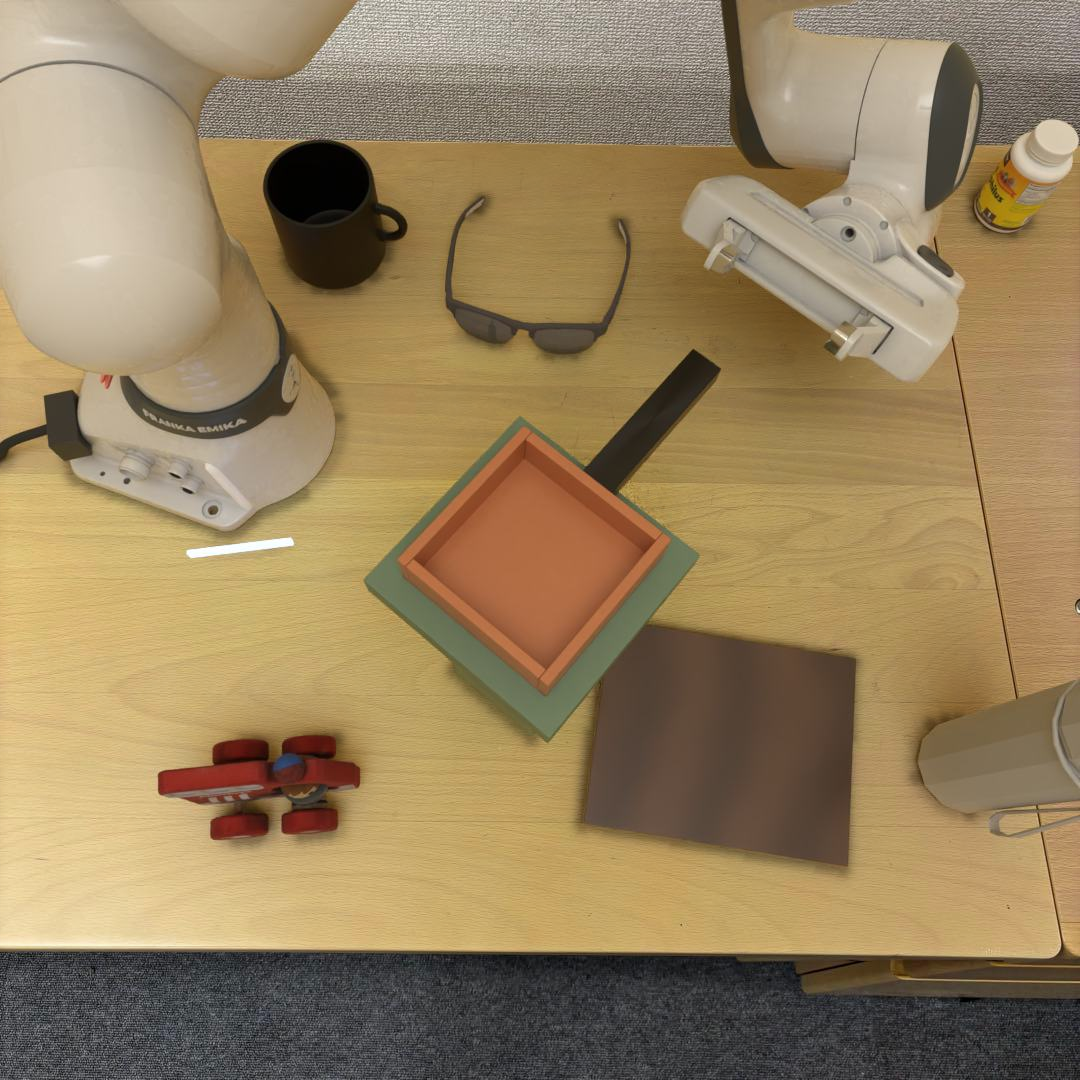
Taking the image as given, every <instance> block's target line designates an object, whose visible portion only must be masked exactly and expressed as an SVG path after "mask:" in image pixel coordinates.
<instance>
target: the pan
mask: <svg viewBox="0 0 1080 1080" xmlns="http://www.w3.org/2000/svg"><path fill="white" fill-rule="evenodd" d="M721 371H722V368H721V367H719V366H718V365H717V364H716V363H714V362H713V361H711V360H710V359H708V358H707V357H706V356H704V355H703V354H702V353H700V352H699V351H698V350H696V349H695V348H692V349H691V350H690V351H689V352H688V354H687V355H685V357H684V358H683V359H682V360H681V361H680V363H678V365H677V366H676V367H675V368H674V369H673V370H672V371H671V372H670V373H669V374H668V375H667V376H666V378H665V379H664V380H663V381H662V382H661V384H659V385H658V387H657V388H656V389H655V390H654V391H653V392H652V393H651V394H650V396H648V398H647V399H646V400H645V401H644V402H643V403H642V404H641V405H640V407H638V409H637V410H636V411H635V412H634V413H633V414H632V415H631V416H630V418H628V420H627V421H626V422H625V423H624V424H623V425H622V427H620V428H619V430H618V431H617V432H616V433H615V434H614V435H613V436H612V438H610V440H609V441H608V442H607V443H606V444H605V445H604V446H603V447H602V448H601V449H600V451H598V453H597V454H596V455H595V456H594V457H593V459H592V460H590V461H589V463H588V464H587V465H585V466H586V467H585V469H584V470H581V469H580V468H579V467H577V466H576V465H575V464H573V463H572V462H571V461H570V460H568V459H567V458H566V457H564V456H563V455H562V454H561V453H559V452H558V451H557V450H555V449H554V448H553V447H551V446H550V445H549V444H548V443H546V442H545V441H544V440H542V439H541V438H540V437H538V436H537V435H536V434H535V433H533V432H532V431H531V430H529V429H528V428H527V427H525V426H523V427H522V428H521V429H520V430H519V431H518V432H517V433H516V434H515V435H514V436H513V437H512V438H511V439H510V441H509V442H508V443H507V444H506V445H505V446H504V447H503V448H502V449H501V450H500V451H499V452H498V453H497V454H496V455H495V456H494V457H493V458H492V459H491V461H490V462H489V463H488V464H487V465H486V466H485V467H484V468H483V469H482V470H481V471H480V472H479V473H478V474H477V475H476V476H475V477H474V478H473V480H472V481H471V482H470V483H469V484H468V485H467V486H466V487H465V488H464V489H463V490H462V491H461V492H460V493H459V494H458V495H457V496H456V497H455V498H454V500H453V501H452V502H451V503H450V504H449V505H448V506H447V507H446V508H445V509H444V510H443V511H442V512H441V513H440V514H439V515H438V516H437V517H436V519H435V520H434V521H433V522H432V523H431V524H430V525H429V526H428V527H427V528H426V529H425V530H424V531H423V532H422V533H421V534H420V535H419V536H418V537H417V539H416V540H415V541H414V542H413V543H412V544H411V545H410V546H409V547H408V548H407V549H406V550H405V551H404V552H403V553H402V554H401V555H400V556H399V557H398V559H397V561H398V564H399V567H400V569H401V572H402V575H403V577H404V578H405V579H406V580H407V581H408V582H410V583H411V584H412V585H413V586H414V587H415V588H417V589H418V590H419V591H420V592H421V593H423V594H424V595H425V596H426V597H427V598H429V599H430V600H431V601H432V602H433V603H434V604H436V605H437V606H438V607H439V608H440V609H442V610H443V611H444V612H445V613H446V614H448V615H449V616H450V617H451V618H452V619H454V620H455V621H456V622H457V623H458V624H459V625H461V626H462V627H463V628H464V629H465V630H467V631H468V632H469V633H470V634H471V635H473V636H474V637H475V638H476V639H477V640H479V641H480V642H481V643H482V644H483V645H484V646H486V647H487V648H488V649H489V650H490V651H492V652H493V653H494V654H495V655H496V656H498V657H499V658H500V659H501V660H502V661H503V662H505V663H506V664H507V665H508V666H509V667H511V668H512V669H513V670H514V671H515V672H517V673H518V674H519V675H520V676H521V677H523V678H524V679H525V680H526V681H527V682H528V683H530V684H531V685H532V686H533V687H534V688H536V689H537V690H538V691H539V692H540V693H542V694H543V695H544V696H547V695H548V694H549V692H550V691H551V690H552V689H553V688H554V687H555V685H556V684H557V683H558V682H559V681H560V679H561V678H562V677H563V676H564V675H565V673H566V672H567V671H568V670H569V669H570V667H571V666H572V665H573V664H574V663H575V661H576V660H577V659H578V658H579V657H580V655H581V654H582V653H583V652H584V651H585V650H586V648H587V647H588V646H589V645H590V644H591V642H592V641H593V640H594V639H595V638H596V636H597V635H598V634H599V633H600V632H601V630H602V629H603V628H604V627H605V626H606V624H607V623H608V622H609V621H610V620H611V618H612V617H613V616H614V615H615V614H616V612H617V611H618V610H619V609H620V608H621V607H622V605H623V604H624V603H625V602H626V601H627V599H628V598H629V597H630V596H631V595H632V593H633V592H634V591H635V590H636V589H637V587H638V586H639V585H640V584H641V583H642V581H643V580H644V579H645V578H646V577H647V575H648V574H649V573H650V572H651V571H652V569H653V568H654V567H655V566H656V565H657V564H658V562H659V561H660V560H661V559H662V557H663V555H664V553H665V551H666V549H667V547H668V545H669V543H670V541H671V538H669V537H668V536H667V535H665V534H664V533H662V531H660V530H659V529H658V528H656V527H655V526H654V525H652V524H651V523H650V522H649V521H647V520H646V519H645V518H643V517H642V516H641V515H640V514H638V513H637V512H636V511H634V510H633V509H632V508H630V507H629V506H628V505H627V504H625V503H624V502H623V501H621V500H620V499H619V498H618V497H616V496H615V495H616V494H617V493H618V492H620V491H621V490H622V489H623V488H624V487H625V486H626V484H627V483H628V482H629V481H630V480H631V478H633V476H634V475H635V474H636V473H637V472H638V470H639V469H641V467H642V466H644V464H645V463H646V462H647V460H648V459H649V458H650V457H651V456H652V455H653V454H654V453H655V451H656V450H657V449H658V448H659V447H660V445H662V443H663V442H664V441H665V440H666V439H667V438H668V437H669V435H670V434H671V433H673V431H674V429H676V428H677V426H678V425H679V424H681V422H682V421H683V420H684V418H686V416H687V415H688V414H689V413H690V411H691V410H692V409H693V408H694V407H695V406H696V405H697V404H698V402H700V400H701V399H702V398H703V397H704V396H705V394H706V393H707V392H708V391H709V390H710V389H711V388H712V387H713V385H715V383H716V382H717V380H718V377H719V376H720V373H721Z"/></svg>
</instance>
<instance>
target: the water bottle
mask: <svg viewBox="0 0 1080 1080" xmlns="http://www.w3.org/2000/svg"><path fill="white" fill-rule="evenodd" d="M917 765H918V768H919V771H920V774H921V778H922V781H923V785H924V787H925V788H926V789H927V790H928V791H929V792H930V793H931V794H932V795H933V796H934V797H935V798H936V799H937V801H938V802H939V803H940V805H942V806H945V807H947V808H950V809H953V810H956V811H958V812H961V813H964V814H973V813H982V812H991V811H995V812H994V813H993V814H992V815H990V817H989V820H987V823H988V829H989V833H990V834H992V835H994V836H996V837H1003V838H1015V839H1021V838H1025V837H1029V836H1031V835H1035V834H1038V833H1042V832H1045V831H1049V830H1053V829H1056V828H1061V827H1063V826H1066V825H1070V824H1073V823H1077V822H1080V814H1078V815H1075V816H1071V817H1067V818H1064V819H1060V820H1057V821H1054V822H1050V823H1047V824H1046V823H1045V824H1043V825H1039V826H1035V827H1032V828H1028V829H1024V830H1021V831H1018V832H1014V833H1011V834H1007V833H1005V832H1002V831H1001V828H1000V821H1001V820H1002V819H1003V818H1004V817H1006V816H1008V815H1009V816H1010V815H1025V814H1026V815H1028V814H1044V813H1047V814H1048V813H1060V812H1061V813H1064V812H1065V813H1066V812H1080V806H1079V807H1057V808H1056V807H1055V808H1054V807H1053V808H1052V807H1051V808H1034V809H1033V808H1028V807H1035V806H1045V805H1055V804H1062V803H1071V802H1072V803H1073V802H1080V677H1079V678H1077V679H1074V680H1070V681H1068V682H1065V683H1064V682H1063V683H1061V684H1058V685H1056V686H1051V687H1049V688H1046V689H1043V690H1040V691H1036V692H1034V693H1030V694H1028V695H1024V696H1021V697H1018V698H1015V699H1012V700H1008V701H1005V702H1003V703H1000V704H997V705H994V706H991V707H987V708H984V709H981V710H978V711H975V712H972V713H969V714H966V715H963V716H959V717H957V718H954V719H950V720H947V721H944V722H941V723H938V724H937V725H936V726H934V728H932V730H931V731H929V732H928V733H927V734H926V736H924V737H923V738H922V740H921V744H920V749H919V753H918V759H917ZM1026 807H1027V808H1028V809H1027V808H1026ZM1018 808H1019V809H1018ZM1020 808H1026V809H1020ZM999 810H1000V811H999Z"/></svg>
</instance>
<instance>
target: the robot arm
mask: <svg viewBox="0 0 1080 1080" xmlns="http://www.w3.org/2000/svg"><path fill="white" fill-rule="evenodd" d="M860 1H862V0H720V11H721V19H722V27H723V34H724V42H725V49H726V50H725V52H726V58H727V66H728V67H727V68H728V75H729V83H730V86H729V88H730V89H729V106H728V107H729V110H728V123H729V124H728V125H729V127H728V128H729V133H730V137H731V138H732V141H733V143H734V145H735V147H736V148H737V149H738V151H739V152H740V154H741V156H743V158H744V159H745V160H746V161H747V163H749V165H750V166H752V167H753V168H755V169H765V170H766V169H770V170H803V171H810V172H818V173H825V174H826V173H827V174H834V175H841V176H847V178H846V180H845V182H844V183H843V184H841V185H840V186H838V187H836V188H834V189H832V190H830V191H828V192H826V193H825V194H823V195H822V196H820V197H818V198H816V199H815V200H813V201H811V202H809V203H808V204H806V205H804V206H803V207H802V208H800V207H798V206H797V205H795V204H794V203H792V202H791V201H790V200H788V199H786V198H785V197H784V196H781V195H780V194H779V193H777V192H776V191H774V190H772V189H771V188H769V187H768V186H766V185H765V184H763V183H761V182H760V181H758V180H756V179H754V178H752V177H749V176H748V175H747V176H746V175H742V174H726V175H725V174H724V175H720V176H714V177H709V178H707V179H703V180H701V181H699V182H698V183H697V184H696V186H695V187H694V189H693V191H692V192H691V194H690V196H689V198H688V200H687V202H686V204H685V206H684V207H683V209H682V212H681V214H680V217H679V226H680V229H681V231H682V233H683V234H684V235H685V236H687V237H688V238H689V239H691V240H692V241H694V242H696V243H697V244H699V245H700V246H701V247H703V248H704V249H706V250H707V251H708V253H709V255H708V256H707V258H706V260H705V261H704V263H703V268H704V269H706V270H707V271H708V272H710V273H712V274H713V275H715V276H717V277H718V278H719V279H721V280H723V279H724V278H725V277H727V276H729V275H730V274H731V273H732V271H733V270H734V269H735V270H736V271H737V272H739V273H741V274H743V275H744V276H745V277H747V278H748V279H750V280H751V281H753V282H754V283H755V284H757V285H758V286H760V287H761V288H763V289H764V290H766V291H767V292H768V293H770V294H771V295H773V296H774V297H776V298H777V299H779V300H780V301H782V302H783V303H784V304H786V305H787V306H789V307H791V309H793V310H795V311H796V312H798V313H799V314H800V315H802V316H803V317H805V318H806V319H808V320H809V321H811V322H812V323H814V324H815V325H817V326H818V327H819V328H821V329H823V330H824V331H825V332H827V333H828V334H830V336H829V339H828V340H826V341H825V343H824V344H823V346H822V348H821V349H822V350H823V351H824V352H826V353H827V354H829V355H830V356H832V357H833V358H835V359H836V360H837V361H839V362H842V361H843V360H844V359H846V357H848V356H849V357H853V358H854V357H855V358H862V359H863V358H865V359H866V360H867V361H869V362H870V363H872V364H873V365H875V366H877V367H878V368H880V369H881V370H883V371H884V372H885V373H887V374H888V375H890V376H891V377H892V378H893V379H895V380H897V381H898V382H901V383H904V384H910V385H911V384H917V383H918V382H919V381H920V380H921V379H922V377H923V376H925V374H926V373H927V372H928V370H929V369H930V368H931V367H932V366H933V364H934V363H935V362H936V361H937V359H938V358H939V357H940V356H941V354H942V353H943V352H944V350H945V349H946V348H947V346H948V345H949V343H950V341H951V339H952V338H953V337H954V336H953V335H954V333H955V331H956V328H957V325H958V322H959V318H960V308H959V305H958V303H957V301H958V299H959V298H960V296H961V295H962V292H963V291H964V289H965V287H966V281H965V279H964V277H962V276H961V275H960V274H959V273H958V272H957V271H956V270H955V269H953V267H952V266H950V265H949V264H948V262H946V261H945V260H944V259H942V257H940V256H939V255H938V254H937V252H935V251H934V250H933V249H932V248H930V246H931V245H932V242H933V240H934V238H935V236H936V234H937V232H938V229H939V225H940V222H941V218H942V214H943V209H944V208H943V207H944V202H946V201H947V199H948V198H950V196H952V195H953V194H954V193H955V192H956V191H957V190H958V189H959V188H960V186H961V185H962V183H963V181H964V179H965V177H966V175H967V173H968V169H969V167H970V164H971V161H972V158H973V156H974V153H975V149H976V146H977V142H978V138H979V134H980V133H979V132H980V129H981V123H982V117H983V109H984V90H983V89H984V88H983V84H982V81H981V78H980V76H979V74H978V71H977V69H976V66H975V65H974V62H973V60H972V59H971V57H970V56H969V54H968V53H967V51H966V50H965V49H964V47H962V45H960V44H959V43H958V42H956V41H954V42H949V41H941V40H929V39H928V40H927V39H912V38H897V37H895V38H894V37H893V38H882V37H865V36H850V35H849V36H848V35H836V34H835V35H834V34H832V35H831V34H823V33H822V34H821V33H816V32H812V31H811V32H810V31H806V30H804V29H801V28H798V27H796V26H795V12H799V11H804V10H811V9H817V8H827V7H833V6H842V5H848V4H853V3H857V2H860ZM358 2H359V0H0V288H1V290H2V292H3V295H4V297H5V300H6V302H7V304H8V306H9V308H10V311H11V313H12V315H13V317H14V319H15V321H16V324H17V325H18V327H19V329H20V331H21V333H22V334H23V336H24V338H25V339H26V340H27V341H28V343H30V344H31V345H32V346H33V347H34V348H36V349H37V350H38V351H39V352H40V353H42V354H44V355H46V356H47V357H49V358H51V359H54V361H57V362H58V363H61V364H64V365H65V366H69V367H71V368H74V369H77V370H80V371H84V372H85V374H84V377H83V380H82V383H81V386H80V391H79V394H77V392H76V391H75V390H73V389H69V390H64V391H59V392H55V393H54V392H53V393H48V394H44V395H43V402H44V416H45V424H42V425H39V426H36V427H32V428H30V429H25V430H23V431H20V432H17V433H15V434H13V435H10V436H8V437H6V438H4V439H3V440H1V441H0V462H1V461H3V460H5V459H6V458H7V456H8V454H9V451H10V450H11V449H12V448H14V447H16V446H18V445H21V444H23V443H25V442H28V441H31V440H36V439H38V438H41V437H44V436H47V444H48V445H47V446H48V448H49V449H50V450H51V451H52V452H53V453H54V454H55V455H57V457H59V458H60V459H61V460H62V461H64V462H68V461H69V464H70V466H71V470H72V472H73V473H74V475H75V476H76V477H77V478H78V479H80V480H82V481H83V482H87V483H89V484H91V485H94V486H97V487H100V488H103V489H104V490H108V491H111V492H113V493H116V494H119V495H122V496H124V497H127V498H129V499H133V500H135V501H138V502H141V503H144V504H147V505H149V506H152V507H154V508H157V509H159V510H163V511H166V512H168V513H171V514H173V515H176V516H179V517H181V518H185V519H187V520H191V521H193V522H195V523H198V524H201V525H204V526H207V527H209V528H211V529H214V530H218V531H221V532H225V533H226V532H232V531H235V530H237V529H239V528H240V527H241V526H243V525H244V524H245V523H247V521H248V520H250V519H251V518H252V517H253V516H254V515H255V514H256V513H257V512H259V510H262V509H264V508H265V507H268V506H270V505H273V504H276V503H279V502H280V501H283V500H285V499H287V498H290V497H291V496H293V495H294V494H296V493H297V492H299V491H300V490H302V489H303V488H305V487H306V486H307V485H308V484H310V483H311V482H312V481H313V479H315V477H316V476H317V475H318V474H319V473H320V471H321V470H322V469H323V467H324V465H325V464H326V462H327V460H328V459H329V457H330V454H331V451H332V449H333V446H334V443H335V439H336V428H337V427H336V426H337V425H336V424H337V423H336V415H335V410H334V407H333V404H332V402H331V398H330V397H329V395H328V393H327V391H326V390H325V389H324V387H323V386H322V385H321V384H320V383H319V381H317V379H316V378H315V377H313V376H312V375H311V374H310V372H309V371H308V369H306V367H305V366H304V365H303V364H302V363H301V361H300V360H299V358H298V356H297V354H296V350H295V348H294V345H293V342H292V340H291V337H290V335H289V332H288V330H287V327H286V326H285V324H284V322H283V320H282V318H281V316H280V314H279V312H278V310H277V309H276V307H275V306H274V305H273V304H272V302H270V301H271V300H269V299H267V296H266V294H265V292H264V289H263V287H262V284H261V282H260V279H259V277H258V275H257V272H256V270H255V268H254V266H253V263H252V260H251V259H250V255H249V253H248V251H247V249H246V248H245V246H244V245H243V244H242V243H241V241H240V240H239V239H238V238H237V237H236V236H235V235H234V234H233V233H231V232H230V231H228V230H227V229H225V225H224V224H223V223H224V222H223V221H222V218H221V216H220V213H219V209H218V207H217V203H216V199H215V197H214V193H213V190H212V187H211V183H210V179H209V176H208V172H207V169H206V166H205V162H204V157H203V155H202V150H201V147H200V139H199V138H200V137H199V127H200V120H201V114H202V112H203V111H202V110H203V107H204V104H205V103H206V100H207V97H208V96H209V94H210V93H211V91H212V90H213V89H214V88H215V87H216V86H217V85H218V84H219V83H220V82H221V81H222V80H224V79H225V78H226V77H232V78H237V79H242V80H251V81H266V82H270V81H278V80H284V79H286V78H289V77H291V76H294V75H296V74H298V73H299V72H300V71H302V70H303V69H304V68H305V67H307V65H309V64H310V62H311V61H312V60H313V59H314V57H315V56H316V55H317V54H318V53H319V51H320V50H321V48H322V47H323V46H324V45H325V43H326V42H328V40H329V38H331V36H332V34H333V33H334V32H335V31H336V30H337V28H338V27H339V26H340V25H341V23H342V22H343V21H344V19H346V17H347V16H348V14H349V13H350V12H351V11H352V10H353V9H354V7H355V6H356V4H357V3H358ZM215 509H216V510H217V512H216V513H215V514H211V512H212V511H213V510H215ZM289 546H294V541H293V538H292V537H285V538H277V539H269V540H261V541H251V542H244V543H236V544H228V545H227V544H226V545H221V546H220V545H219V546H212V547H205V548H203V547H202V548H196V549H188V550H186V555H187V556H188V557H189V558H191V559H193V558H200V557H207V556H208V557H209V556H217V555H226V554H234V553H242V552H249V551H258V550H265V549H266V550H267V549H274V548H282V547H289Z"/></svg>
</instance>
